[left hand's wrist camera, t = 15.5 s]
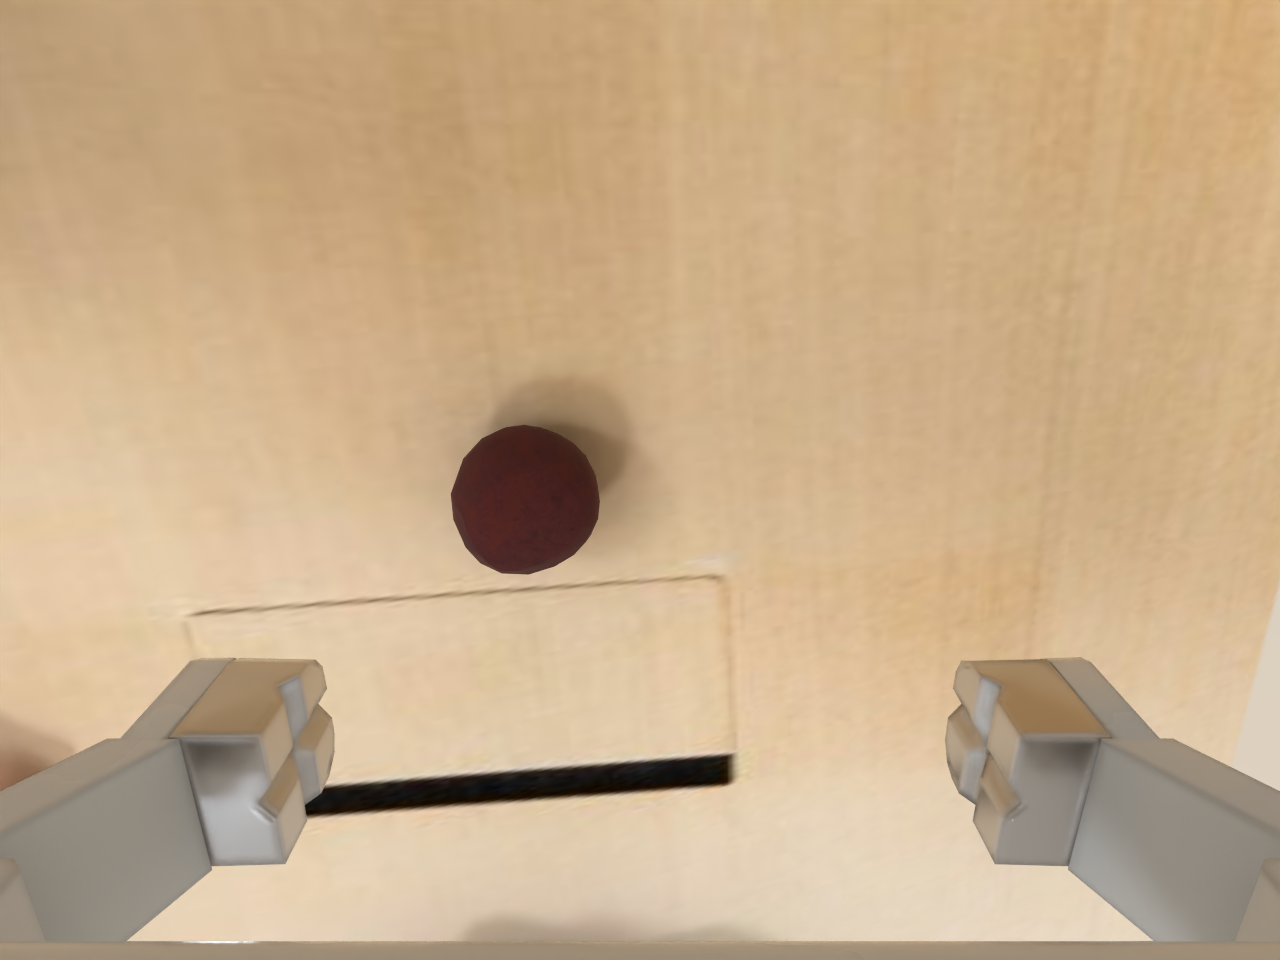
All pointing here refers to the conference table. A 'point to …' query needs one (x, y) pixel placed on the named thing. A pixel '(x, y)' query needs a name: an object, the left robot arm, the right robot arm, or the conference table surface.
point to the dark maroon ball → (524, 500)
